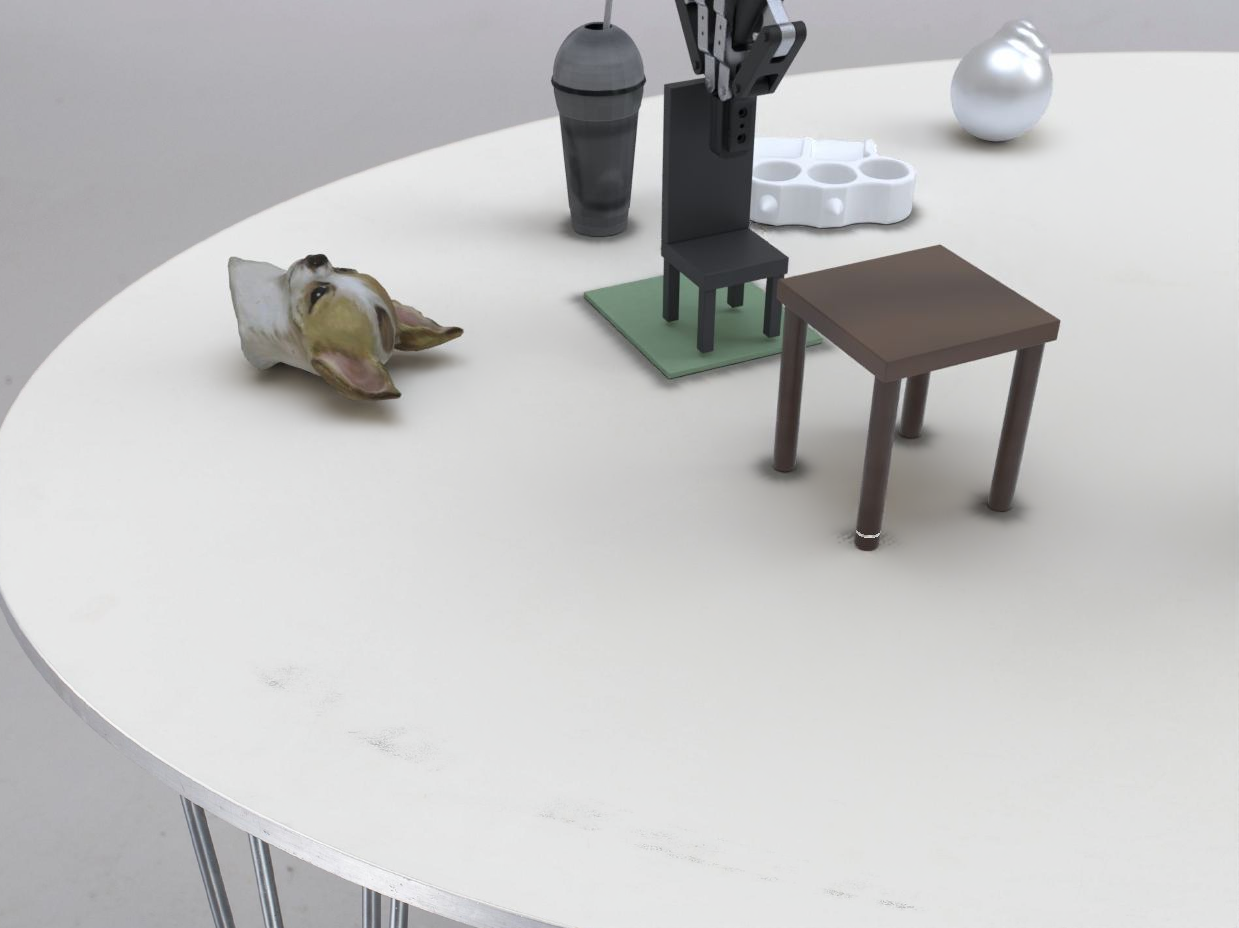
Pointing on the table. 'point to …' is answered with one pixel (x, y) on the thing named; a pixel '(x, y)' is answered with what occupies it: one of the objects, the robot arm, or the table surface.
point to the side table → (910, 354)
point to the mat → (689, 325)
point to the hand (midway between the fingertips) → (729, 153)
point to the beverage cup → (599, 122)
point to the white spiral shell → (1004, 83)
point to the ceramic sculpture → (327, 323)
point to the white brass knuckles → (828, 183)
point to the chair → (710, 217)
